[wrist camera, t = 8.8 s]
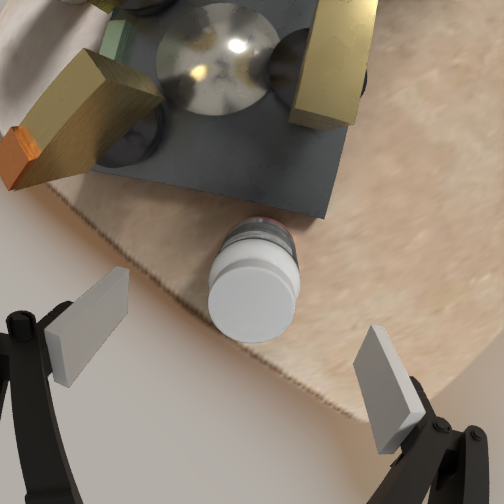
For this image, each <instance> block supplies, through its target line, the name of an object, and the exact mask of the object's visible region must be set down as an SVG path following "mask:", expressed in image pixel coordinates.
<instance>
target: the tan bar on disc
mask: <svg viewBox="0 0 504 504" xmlns="http://www.w3.org/2000/svg"><path fill="white" fill-rule="evenodd" d="M164 100H165V98H164V96H163V95H162V94H161V92H160V91H159V90H158V88H157V87H156V86H155V84H154V83H153V82H152V81H151V79H150V78H149V77H148V75H147V74H144V73H142V72H140V71H138V70H136V69H133V68H131V67H129V66H127V65H124V64H122V63H120V62H117V61H115V60H113V59H110V58H108V57H105V56H103V55H100V54H98V53H96V52H93V51H90V50H88V49H85V48H83V49H82V50H81V51H80V52H79V53H78V54H77V55H76V56H75V57H74V58H73V59H72V60H71V62H70V63H69V64H68V65H67V66H66V67H65V68H64V69H63V70H62V71H61V73H60V74H59V75H58V76H57V77H56V78H55V80H54V81H53V82H52V83H51V84H50V86H49V87H48V88H47V89H46V90H45V92H44V93H43V94H42V95H41V97H40V98H39V99H38V100H37V102H36V103H35V104H34V106H33V107H32V108H31V110H30V111H29V112H28V114H27V115H26V117H25V118H24V119H23V121H22V122H21V124H20V125H19V126H15V127H11V128H10V129H9V131H8V132H7V134H6V135H5V137H4V139H3V140H2V142H1V143H0V176H1V178H2V180H3V182H4V184H5V186H6V188H7V189H8V191H10V190H14V191H16V190H20V189H23V188H27V187H31V186H34V185H38V184H41V183H45V182H49V181H53V180H57V179H61V178H65V177H69V176H73V175H77V174H82V173H86V172H88V171H89V170H90V169H91V168H92V167H93V166H94V165H95V164H98V165H100V166H103V167H106V168H120V167H125V166H130V165H134V164H137V163H139V162H141V161H143V160H145V159H146V158H147V157H149V156H150V155H151V154H152V153H153V152H154V151H155V149H156V148H157V146H158V145H159V143H160V141H161V139H162V136H163V133H164V128H165V115H164V110H163V106H162V104H161V102H162V101H164Z"/></svg>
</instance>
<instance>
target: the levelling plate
mask: <svg viewBox="0 0 504 504" xmlns="http://www.w3.org/2000/svg"><path fill="white" fill-rule="evenodd" d="M315 4H316V0H178V1H177V2H176V3H174V4H173V5H172V6H170V7H168V8H167V9H165V10H163V11H160V12H158V13H155V14H151V15H143V16H141V15H133V14H130V13H128V12H126V11H125V10H123V9H122V8H121V7H119V6H118V7H116V8H115V9H114V10H113V13H112V16H111V19H110V21H108V24H107V27H106V31H105V34H104V37H103V41H102V44H101V48H100V51H99V54H100V55H103V56H105V57H108V58H110V59H113V60H115V61H117V62H120V63H122V64H124V65H127V66H129V67H131V68H133V69H136V70H138V71H140V72H142V73H144V74H147V75H148V77H149V78H150V79H151V81H152V82H153V83H154V84H155V86H156V87H157V88H158V90H159V91H160V92H161V94H162V95H163V96H164V98H165V100H164V101H162V102H161V104H162V106H163V110H164V115H165V128H164V133H163V136H162V139H161V141H160V143H159V145H158V146H157V148H156V149H155V151H154V152H153V153H152V154H151V155H150V156H149V157H147V158H146V159H145V160H143V161H141V162H139V163H137V164H134V165H130V166H125V167H120V168H106V167H103V166H100V165H98V164H95V165H94V166H93V167H92V168H91V169H90V171H96V172H102V173H108V174H114V175H120V176H125V177H131V178H137V179H142V180H148V181H153V182H158V183H163V184H169V185H174V186H179V187H184V188H189V189H194V190H199V191H203V192H208V193H213V194H218V195H222V196H227V197H232V198H236V199H241V200H245V201H250V202H254V203H258V204H263V205H267V206H271V207H276V208H280V209H284V210H288V211H292V212H296V213H301V214H305V215H309V216H313V217H317V218H321V219H324V218H325V215H326V211H327V207H328V204H329V200H330V196H331V193H332V189H333V185H334V181H335V177H336V173H337V169H338V166H339V162H340V158H341V153H342V149H343V145H344V141H345V137H346V133H347V128H348V126H345V127H341V128H337V129H333V130H329V131H326V132H324V131H320V130H316V129H313V128H309V127H305V126H301V125H297V124H293V123H289V122H288V120H289V115H290V110H289V109H288V108H286V107H285V106H284V105H283V104H282V103H281V102H280V101H279V99H278V98H277V97H276V95H275V93H274V91H273V89H272V85H271V81H270V74H269V63H270V58H271V55H272V52H273V50H274V48H275V47H276V45H277V44H278V43H279V42H280V41H281V40H282V39H283V38H284V37H285V36H286V35H288V34H290V33H292V32H294V31H296V30H299V29H303V28H310V24H311V19H312V15H313V11H314V8H315Z"/></svg>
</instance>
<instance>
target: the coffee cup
mask: <svg viewBox="0 0 504 504" xmlns="http://www.w3.org/2000/svg"><path fill="white" fill-rule="evenodd" d="M60 1H63V2H67V3H70V4H74V5H76V4H82V3H85V2H87V1H86V0H60Z"/></svg>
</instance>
